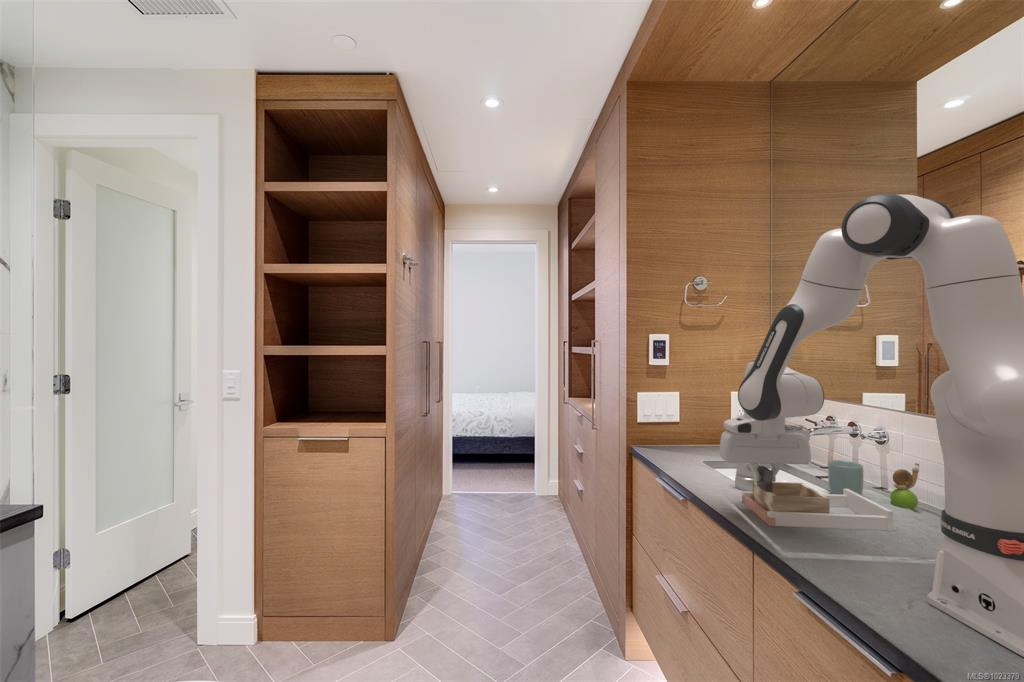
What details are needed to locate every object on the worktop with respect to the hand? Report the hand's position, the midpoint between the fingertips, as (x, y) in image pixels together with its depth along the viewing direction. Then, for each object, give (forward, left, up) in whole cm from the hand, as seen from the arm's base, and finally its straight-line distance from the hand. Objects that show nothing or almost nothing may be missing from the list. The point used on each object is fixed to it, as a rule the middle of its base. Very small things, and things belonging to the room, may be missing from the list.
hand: (764, 480), depth 111 cm
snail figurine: (+10, -39, -9) cm, 41 cm away
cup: (+16, -28, -9) cm, 33 cm away
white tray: (0, -11, -9) cm, 14 cm away
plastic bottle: (+20, -4, -9) cm, 22 cm away
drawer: (0, -6, -8) cm, 10 cm away
